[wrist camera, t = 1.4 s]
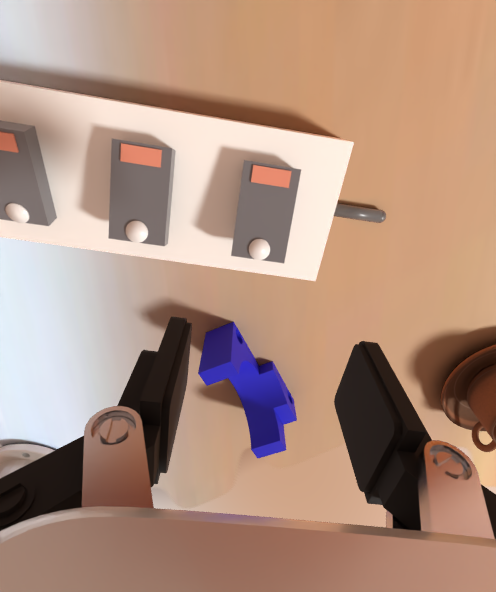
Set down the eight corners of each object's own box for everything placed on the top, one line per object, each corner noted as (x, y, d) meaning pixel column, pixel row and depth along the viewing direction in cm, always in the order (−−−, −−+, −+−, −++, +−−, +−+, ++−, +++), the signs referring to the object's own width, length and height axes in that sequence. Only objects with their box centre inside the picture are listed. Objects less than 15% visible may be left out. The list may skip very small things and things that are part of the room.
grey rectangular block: (57, 217, 24) (48, 227, 23) (3, 209, 23) (-8, 219, 22) (34, 125, 20) (22, 132, 19) (-30, 115, 20) (-46, 121, 19)
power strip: (363, 271, 30) (377, 289, 27) (-3, 218, 28) (-35, 232, 25) (406, 149, 25) (428, 154, 22) (-33, 74, 23) (-76, 68, 20)
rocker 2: (167, 243, 23) (163, 246, 22) (114, 236, 23) (107, 238, 22) (175, 150, 22) (171, 148, 20) (118, 141, 21) (110, 138, 20)
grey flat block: (281, 260, 24) (284, 263, 23) (231, 252, 24) (230, 256, 22) (297, 170, 22) (301, 169, 21) (243, 161, 22) (244, 159, 21)
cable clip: (293, 398, 38) (300, 445, 32) (256, 410, 38) (257, 458, 33) (247, 315, 32) (247, 355, 27) (206, 331, 33) (198, 373, 28)
